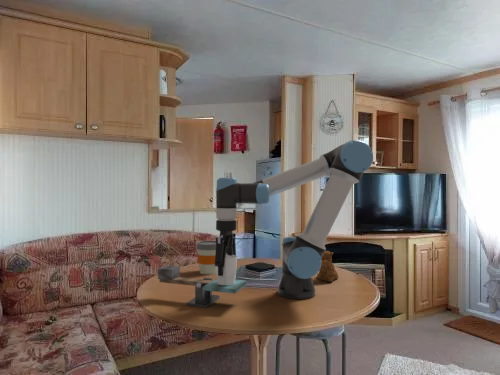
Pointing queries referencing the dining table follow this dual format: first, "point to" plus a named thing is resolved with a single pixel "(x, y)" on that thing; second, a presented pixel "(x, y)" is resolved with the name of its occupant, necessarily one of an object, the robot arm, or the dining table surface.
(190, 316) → the dining table surface
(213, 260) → the reusable coffee cup
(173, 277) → the balance beam
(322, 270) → the stuffed squirrel
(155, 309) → the dining table surface
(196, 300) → the beam stand
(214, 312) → the dining table surface
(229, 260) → the white cup
